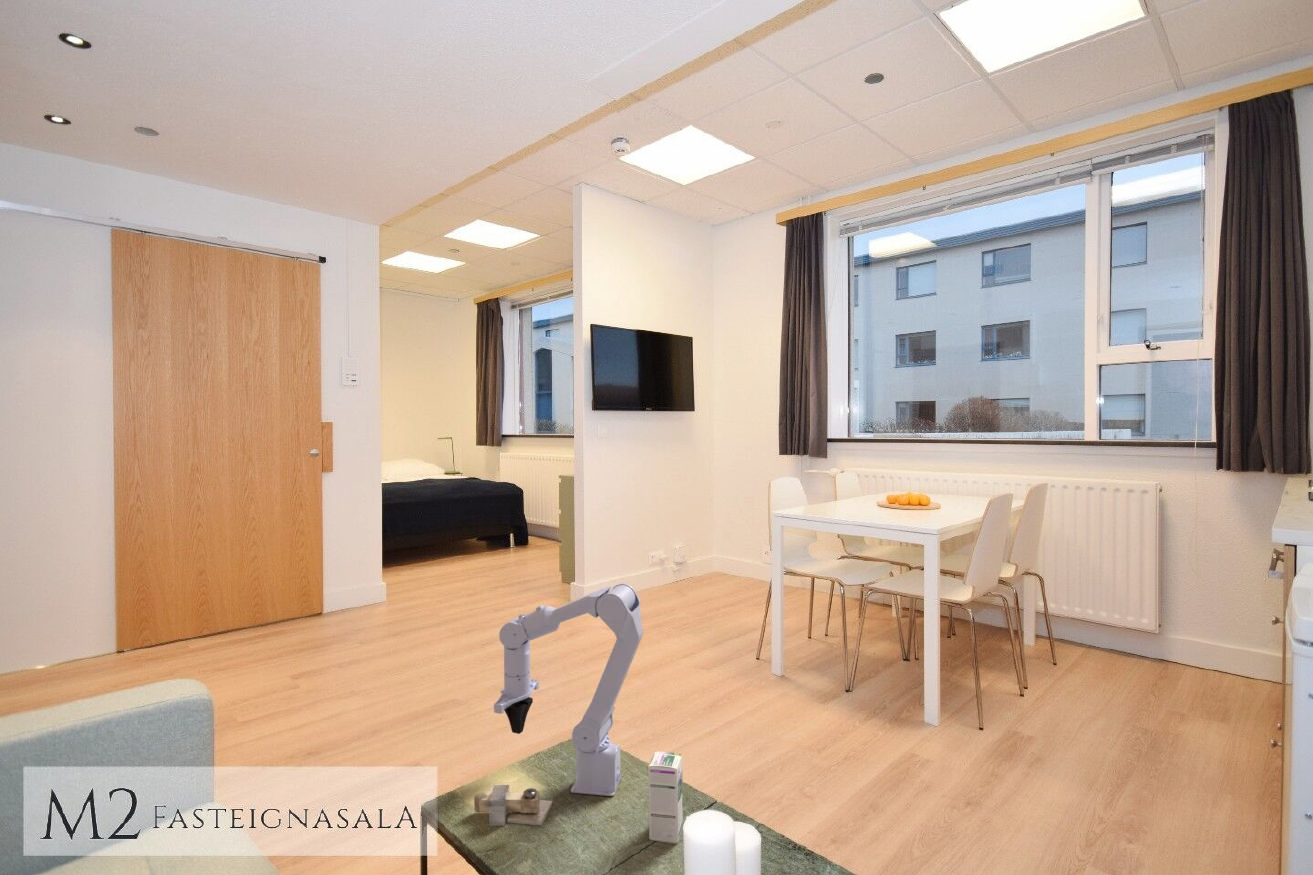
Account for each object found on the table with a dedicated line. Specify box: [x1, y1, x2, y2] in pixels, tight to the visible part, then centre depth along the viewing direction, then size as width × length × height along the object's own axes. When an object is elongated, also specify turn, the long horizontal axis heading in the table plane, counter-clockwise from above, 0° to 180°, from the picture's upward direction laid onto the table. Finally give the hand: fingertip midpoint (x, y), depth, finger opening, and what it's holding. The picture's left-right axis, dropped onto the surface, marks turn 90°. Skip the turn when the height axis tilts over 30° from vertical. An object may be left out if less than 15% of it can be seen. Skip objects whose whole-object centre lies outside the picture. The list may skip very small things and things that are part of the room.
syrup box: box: [647, 751, 684, 844], centre depth 125 cm, size 6×6×14 cm
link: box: [473, 790, 541, 813], centre depth 131 cm, size 13×3×2 cm, turn 91°
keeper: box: [488, 784, 510, 827], centre depth 130 cm, size 3×5×5 cm, turn 3°
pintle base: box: [506, 787, 553, 827], centre depth 131 cm, size 7×7×4 cm
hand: (517, 731), depth 146 cm, fingers closed
